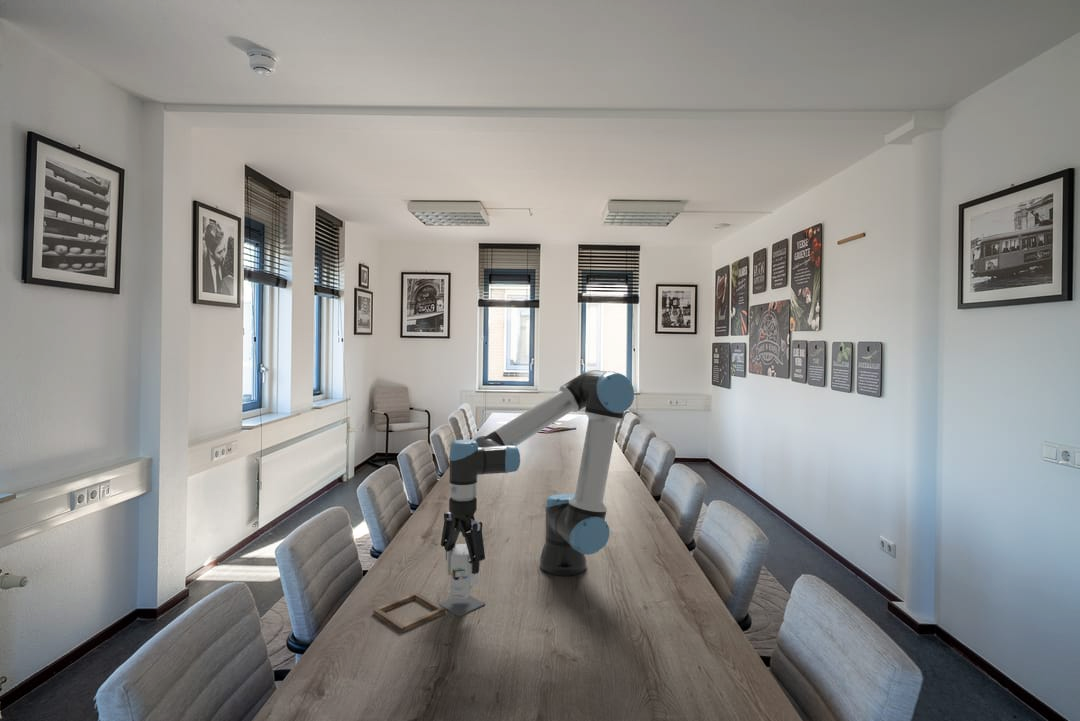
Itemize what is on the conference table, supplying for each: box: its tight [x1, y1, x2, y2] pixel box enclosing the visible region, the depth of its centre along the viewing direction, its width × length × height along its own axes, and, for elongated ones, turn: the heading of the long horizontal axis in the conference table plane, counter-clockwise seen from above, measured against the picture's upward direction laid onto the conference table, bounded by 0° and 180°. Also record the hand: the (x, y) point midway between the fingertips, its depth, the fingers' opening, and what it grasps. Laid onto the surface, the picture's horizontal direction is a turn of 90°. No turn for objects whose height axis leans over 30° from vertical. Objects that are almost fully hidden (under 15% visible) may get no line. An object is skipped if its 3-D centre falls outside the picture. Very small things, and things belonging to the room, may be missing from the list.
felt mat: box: [438, 594, 486, 618], centre depth 144 cm, size 9×9×1 cm
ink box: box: [449, 543, 473, 599], centre depth 143 cm, size 8×5×12 cm, turn 179°
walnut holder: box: [372, 591, 446, 634], centre depth 139 cm, size 13×13×1 cm
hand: (461, 578), depth 143 cm, fingers closed on ink box, 9 cm apart
